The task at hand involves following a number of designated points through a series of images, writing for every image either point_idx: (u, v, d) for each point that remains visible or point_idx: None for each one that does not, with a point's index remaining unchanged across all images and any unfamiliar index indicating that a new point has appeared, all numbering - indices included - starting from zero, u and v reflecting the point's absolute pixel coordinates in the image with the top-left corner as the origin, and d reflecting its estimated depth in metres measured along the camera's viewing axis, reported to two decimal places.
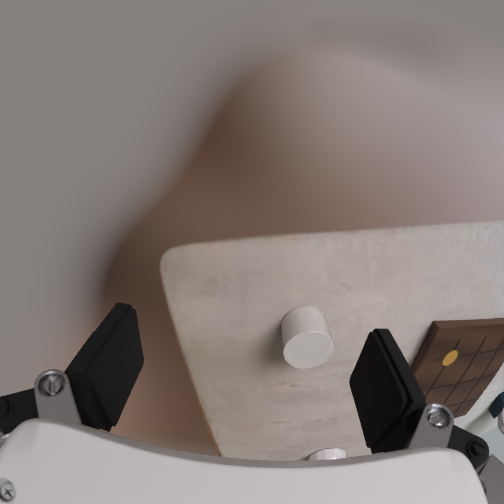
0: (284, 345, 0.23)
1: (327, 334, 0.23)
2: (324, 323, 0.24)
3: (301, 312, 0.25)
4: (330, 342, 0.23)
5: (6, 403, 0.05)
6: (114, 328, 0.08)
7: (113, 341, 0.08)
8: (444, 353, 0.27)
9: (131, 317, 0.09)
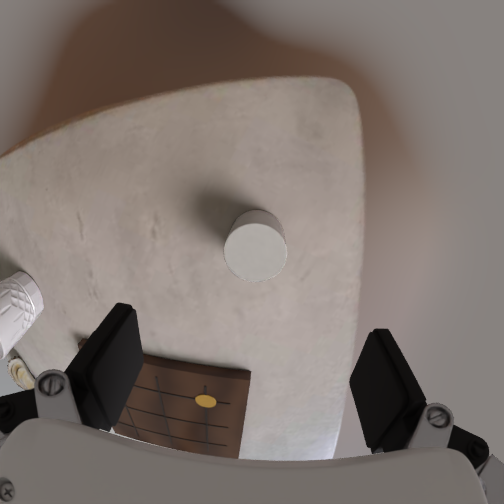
0: (263, 223, 0.20)
1: (278, 271, 0.21)
2: None
3: None
4: (268, 277, 0.21)
5: (6, 403, 0.05)
6: (114, 328, 0.08)
7: (113, 341, 0.08)
8: (213, 393, 0.30)
9: (131, 317, 0.09)
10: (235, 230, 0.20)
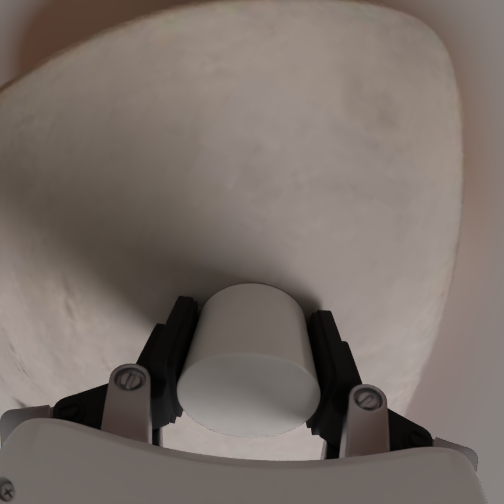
0: (268, 349, 0.07)
1: None
2: None
3: (308, 334, 0.10)
4: (275, 432, 0.09)
5: (74, 404, 0.06)
6: (183, 320, 0.09)
7: (185, 332, 0.09)
8: None
9: (195, 309, 0.10)
10: (197, 364, 0.07)
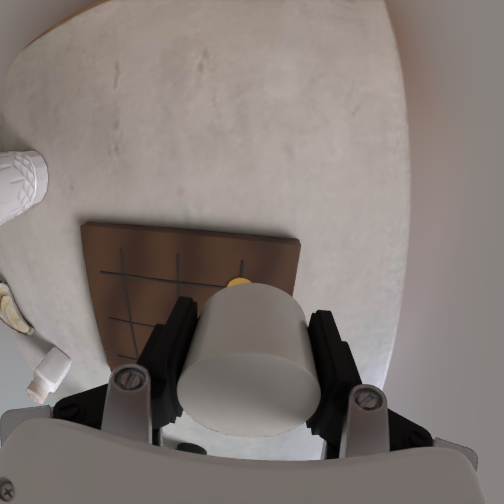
0: (268, 348, 0.07)
1: None
2: None
3: None
4: (275, 432, 0.08)
5: (75, 404, 0.06)
6: (183, 320, 0.09)
7: (185, 332, 0.09)
8: (251, 274, 0.26)
9: (195, 309, 0.10)
10: (197, 363, 0.07)
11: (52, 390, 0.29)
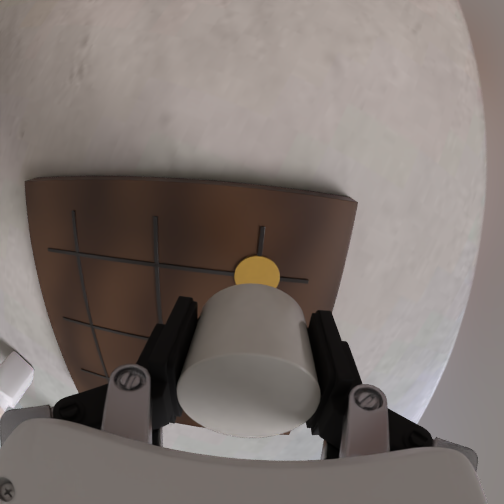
0: (267, 349, 0.07)
1: None
2: None
3: None
4: (275, 432, 0.08)
5: (75, 404, 0.06)
6: (183, 320, 0.09)
7: (185, 332, 0.09)
8: (277, 251, 0.16)
9: (195, 309, 0.10)
10: (197, 364, 0.07)
11: (10, 405, 0.19)
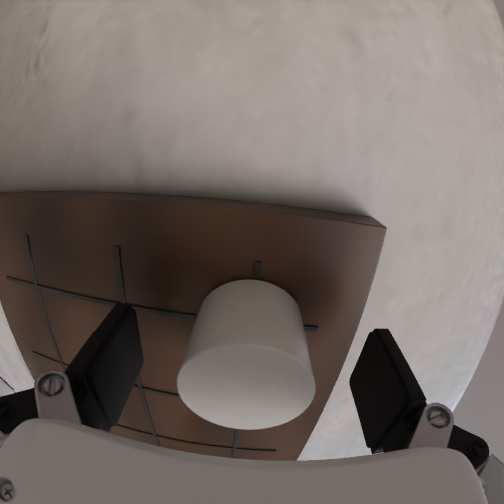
0: (263, 341, 0.08)
1: None
2: None
3: (304, 328, 0.11)
4: (272, 424, 0.09)
5: (6, 403, 0.05)
6: (114, 328, 0.08)
7: (113, 341, 0.08)
8: None
9: (131, 317, 0.09)
10: (197, 355, 0.08)
11: None
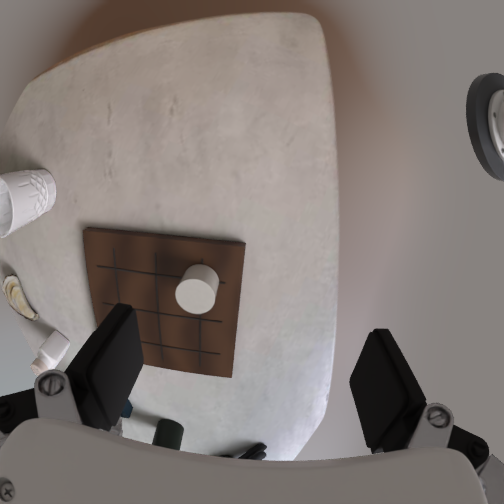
0: (198, 278, 0.30)
1: (211, 307, 0.32)
2: None
3: (217, 281, 0.33)
4: (204, 311, 0.32)
5: (6, 403, 0.05)
6: (114, 328, 0.08)
7: (113, 341, 0.08)
8: None
9: (131, 317, 0.09)
10: (181, 282, 0.30)
11: (52, 366, 0.36)
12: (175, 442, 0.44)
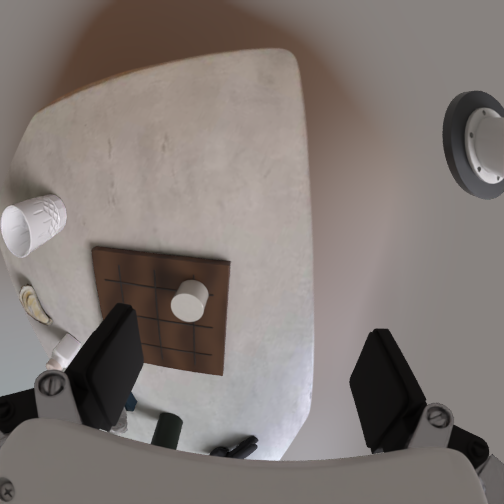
0: (189, 293, 0.36)
1: (200, 317, 0.37)
2: None
3: (206, 294, 0.39)
4: (195, 319, 0.37)
5: (6, 403, 0.05)
6: (114, 328, 0.08)
7: (113, 341, 0.08)
8: None
9: (131, 317, 0.09)
10: (175, 296, 0.36)
11: (65, 365, 0.43)
12: (174, 434, 0.50)
